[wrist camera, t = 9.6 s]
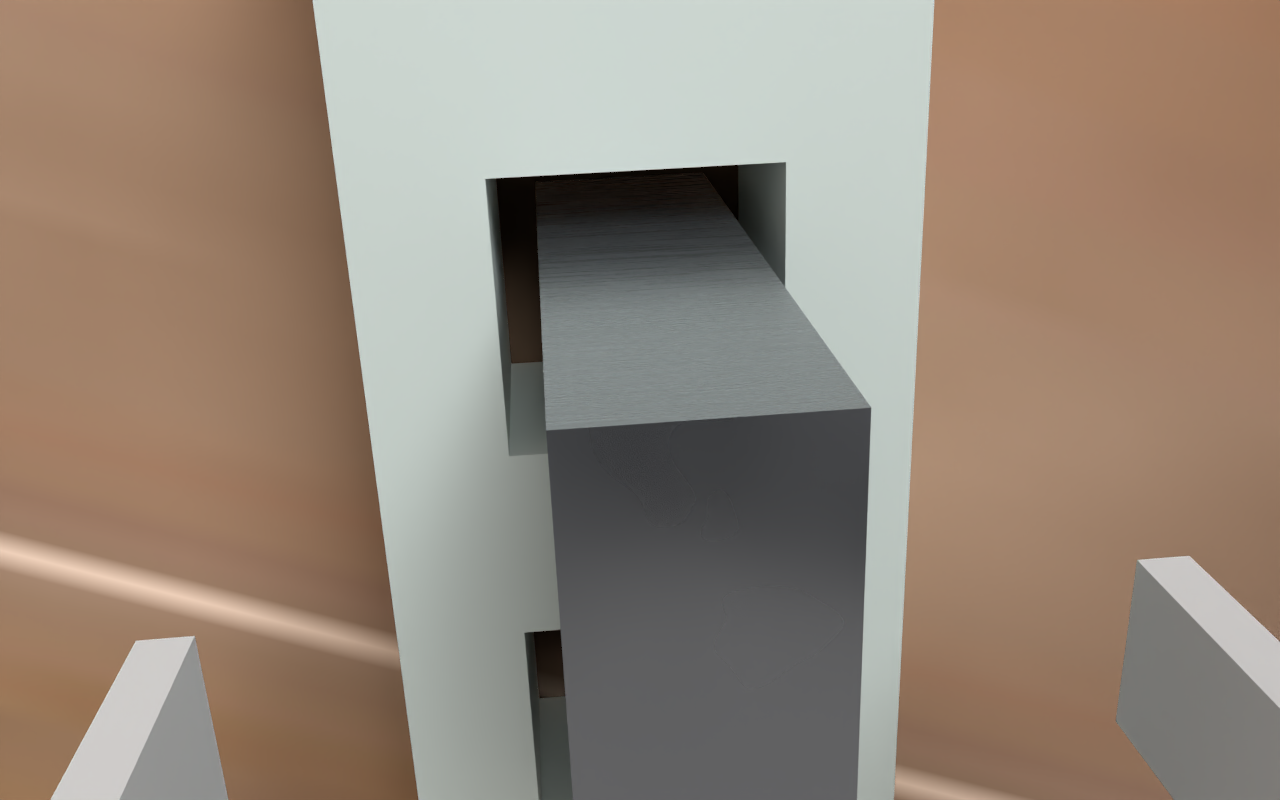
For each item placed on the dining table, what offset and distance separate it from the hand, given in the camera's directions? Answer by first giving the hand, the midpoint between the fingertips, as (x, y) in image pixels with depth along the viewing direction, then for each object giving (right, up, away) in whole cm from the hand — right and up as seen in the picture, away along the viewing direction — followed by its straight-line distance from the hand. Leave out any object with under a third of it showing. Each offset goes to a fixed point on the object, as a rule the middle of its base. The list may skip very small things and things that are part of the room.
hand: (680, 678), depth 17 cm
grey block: (-1, +3, +8) cm, 9 cm away
